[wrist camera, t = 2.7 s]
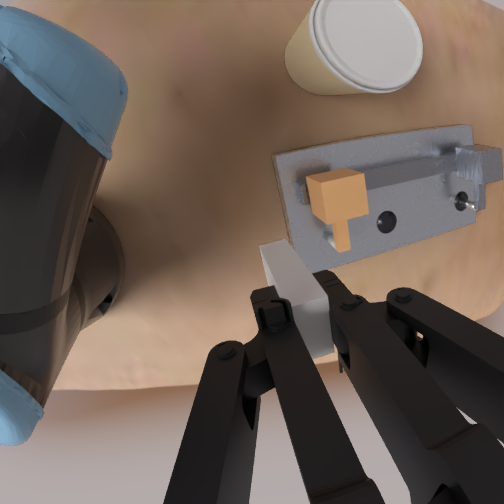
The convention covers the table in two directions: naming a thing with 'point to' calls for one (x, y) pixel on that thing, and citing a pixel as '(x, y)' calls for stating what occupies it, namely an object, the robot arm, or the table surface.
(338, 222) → the block
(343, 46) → the coffee cup
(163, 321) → the table surface
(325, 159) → the plate
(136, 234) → the table surface
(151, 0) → the table surface
